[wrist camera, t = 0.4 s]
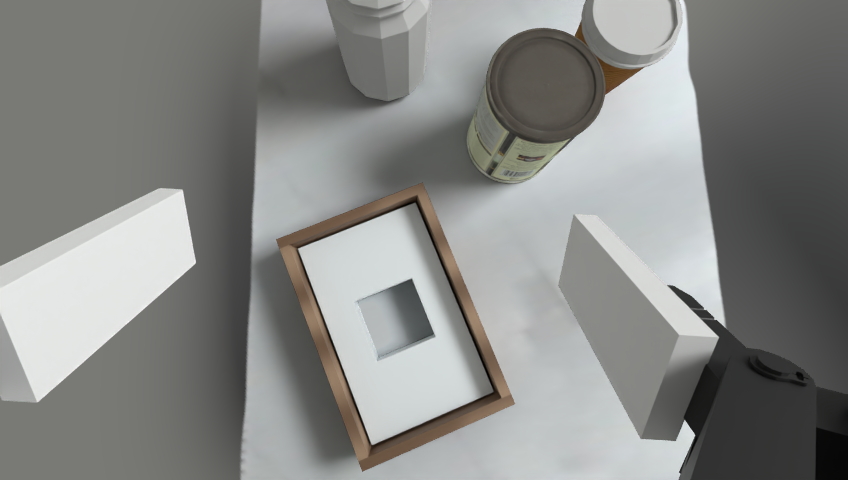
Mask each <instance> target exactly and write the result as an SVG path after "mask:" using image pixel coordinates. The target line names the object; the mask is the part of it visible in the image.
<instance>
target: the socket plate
mask: <svg viewBox="0 0 848 480" xmlns="http://www.w3.org/2000/svg"><path fill="white" fill-rule="evenodd" d="M298 250H299V253H300V255H301V258H302V261H303V263H304V266H305V269H306V271H307V274H308V277H309V279H310V282H311V285H312V287H313V290H314V292H315V295H316V298H317V300H318V303H319V306H320V308H321V311H322V314H323V316H324V319H325V322H326V324H327V327H328V330H329V332H330V335H331V338H332V340H333V343H334V346H335V348H336V351H337V354H338V356H339V359H340V362H341V364H342V367H343V370H344V372H345V375H346V378H347V380H348V383H349V385H350V388H351V391H352V393H353V396H354V399H355V401H356V404H357V407H358V409H359V412H360V415H361V417H362V420H363V423H364V425H365V428H366V431H367V433H368V436H369V439H370V441H371V444H372V445H374V444H376V443H378V442H380V441H383V440H385V439H387V438H390V437H392V436H394V435H396V434H399V433H401V432H403V431H406V430H408V429H410V428H412V427H415V426H417V425H419V424H422V423H424V422H426V421H428V420H431V419H433V418H435V417H438V416H440V415H442V414H444V413H447V412H449V411H451V410H453V409H456V408H458V407H460V406H463V405H465V404H467V403H469V402H472V401H474V400H476V399H479V398H481V397H483V396H485V395H488V394H490V393H492V392H494V391H493V389H492V386H491V384H490V382H489V379H488V377H487V374H486V372H485V370H484V367H483V365H482V362H481V360H480V357H479V355H478V353H477V350H476V348H475V345H474V343H473V340H472V338H471V336H470V333H469V331H468V328H467V326H466V324H465V321H464V319H463V316H462V314H461V311H460V309H459V307H458V304H457V302H456V299H455V297H454V295H453V292H452V290H451V287H450V285H449V282H448V280H447V278H446V275H445V273H444V270H443V268H442V265H441V263H440V261H439V258H438V256H437V253H436V251H435V249H434V246H433V244H432V241H431V239H430V236H429V234H428V232H427V229H426V227H425V224H424V222H423V220H422V217H421V215H420V212H419V210H418V207H417V205H416V203H413V204H410V205H408V206H405V207H403V208H400V209H398V210H395V211H393V212H390V213H388V214H385V215H382V216H380V217H377V218H375V219H372V220H370V221H367V222H365V223H362V224H360V225H357V226H355V227H352V228H349V229H347V230H344V231H342V232H339V233H337V234H334V235H332V236H329V237H327V238H324V239H321V240H319V241H316V242H314V243H311V244H309V245H306V246H304V247H301V248H299V249H298ZM410 279H412V280H413V283H414V285H415V288H416V290H417V293H418V295H419V298H420V300H421V303H422V305H423V308H424V310H425V313H426V315H427V318H428V320H429V323H430V325H431V328H432V330H433V332H434V334H433V335H431V336H428V337H426V338H424V339H421V340H419V341H417V342H414V343H412V344H409V345H407V346H405V347H402V348H400V349H398V350H395V351H393V352H391V353H388V354H386V355H383V356H381V357H378V354H377V352H376V349H375V346H374V344H373V341H372V339H371V336H370V334H369V331H368V328H367V326H366V323H365V321H364V318H363V315H362V313H361V310H360V308H359V305H358V303H357V301H359V300H362V299H364V298H366V297H369V296H371V295H374V294H376V293H379V292H381V291H384V290H386V289H388V288H391V287H393V286H396V285H398V284H401V283H403V282H406V281H408V280H410Z"/></svg>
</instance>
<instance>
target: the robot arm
mask: <svg viewBox="0 0 848 480" xmlns="http://www.w3.org/2000/svg"><path fill="white" fill-rule="evenodd" d="M195 263H196V261H195V256H194V251H193V245H192V239H191V234H190V228H189V223H188V217H187V212H186V206H185V201H184V195H183V190H179V189H164V188H159V189H157V190H155V191H153V192H151V193H149V194H147V195H145V196H143V197H141V198H139V199H137V200H135V201H133V202H131V203H129V204H127V205H125V206H122V207H121V208H118V209H117V210H114V211H112V212H110V213H108V214H106V215H104V216H102V217H100V218H98V219H96V220H94V221H92V222H90V223H88V224H86V225H84V226H82V227H80V228H78V229H76V230H74V231H72V232H69V233H67V234H66V235H63V236H62V237H59V238H57V239H55V240H53V241H51V242H49V243H47V244H45V245H43V246H41V247H39V248H37V249H35V250H33V251H31V252H29V253H27V254H25V255H23V256H21V257H18V258H16V259H14V260H12V261H10V262H8V263H6V264H4V265H2V266H0V397H1V399H2V400H6V401H22V402H39V401H40V400H41V399H42V398H43V397H44V396H45V395H46V394H47V393H49V392H50V391H51V390H52V389H53V388H54V387H55V386H57V385H58V384H59V383H60V382H61V381H62V380H63V379H65V378H66V377H67V376H68V375H69V374H70V373H71V372H73V371H74V370H75V369H76V368H77V367H78V366H79V365H80V364H82V363H83V362H84V361H85V360H86V359H87V358H89V356H91V355H92V354H93V353H94V352H95V351H96V350H97V349H99V348H100V347H101V346H102V345H103V344H104V343H105V342H107V341H108V340H109V339H110V338H111V337H112V336H114V335H115V334H116V333H117V332H118V331H119V330H120V329H121V328H123V327H124V326H125V325H126V324H127V323H128V322H129V321H130V320H132V319H133V318H134V317H135V316H136V315H137V314H139V312H141V311H142V310H143V309H144V308H145V307H146V306H148V305H149V304H150V303H151V302H152V301H153V300H154V299H156V298H157V297H158V296H159V295H160V294H161V293H162V292H164V291H165V290H166V289H167V288H168V287H169V286H170V285H171V284H173V283H174V282H175V281H176V280H177V279H178V278H179V277H181V276H182V275H183V274H184V273H185V272H186V271H187V270H188V269H190V268H191V267H192V266H193V265H194V264H195ZM558 286H559V288H560V289H561V291H562V293H563V295H564V297H565V299H566V301H567V302H568V304H569V306H570V308H571V310H572V312H573V314H574V316H575V317H576V319H577V321H578V323H579V325H580V327H581V329H582V330H583V332H584V334H585V336H586V338H587V340H588V342H589V343H590V345H591V347H592V349H593V351H594V353H595V355H596V356H597V358H598V360H599V362H600V364H601V366H602V368H603V369H604V371H605V373H606V375H607V377H608V379H609V381H610V382H611V384H612V386H613V388H614V390H615V392H616V394H617V396H618V397H619V399H620V401H621V403H622V405H623V407H624V409H625V410H626V412H627V414H628V416H629V418H630V420H631V422H632V423H633V425H634V427H635V429H636V431H637V433H638V435H639V436H640V438H641V439H653V440H670V441H676V439H677V437H678V434H679V432H680V429H681V427H682V425H683V422H684V420H685V421H686V422H687V423H688V425H689V426H690V428H691V429H692V431H693V432H694V434H695V437H694V440H693V442H692V444H691V447H690V449H689V451H688V453H687V456H686V458H685V460H684V462H683V465H682V467H681V469H680V471H679V473H681V474H680V477H679V480H848V394H843V393H839V392H836V391H832V390H828V389H824V388H820V387H816V385H815V382H814V380H813V379H812V378H811V377H810V376H809V375H808V374H807V373H806V372H805V371H804V370H803V369H801V368H800V367H798V366H797V365H795V364H794V363H792V362H791V361H789V360H786V359H784V358H782V357H780V356H777V355H775V354H772V353H769V352H765V351H762V350H758V349H751V348H746V347H745V346H744V345H743V344H742V343H741V342H740V341H738V340H737V339H736V338H735V337H734V336H733V335H732V334H731V333H730V332H729V331H728V330H727V329H726V328H725V327H724V326H723V325H722V324H720V323H719V322H718V321H717V320H714V317H713V316H712V315H711V314H710V313H709V312H708V311H707V310H704V308H703V307H702V306H701V305H700V304H699V303H698V302H697V301H696V300H695V299H694V298H693V297H692V296H690V295H689V294H687V293H685V292H683V291H682V290H680V289H678V288H676V287H675V286H671V285H666V284H665V283H664V282H663V281H662V280H661V279H660V278H659V277H658V276H657V275H656V274H655V273H654V272H653V271H652V270H651V269H650V268H649V267H648V266H647V265H646V264H645V263H644V262H643V261H642V260H641V259H640V258H639V257H638V256H637V255H636V254H635V253H634V252H633V251H632V250H631V249H630V248H629V247H628V246H627V245H626V244H625V243H624V242H623V241H622V240H621V239H620V238H619V237H618V236H617V235H616V234H615V233H614V232H613V231H612V230H611V229H610V228H609V227H608V226H607V225H606V224H605V223H604V222H603V221H602V220H601V219H600V218H599V217H597V216H596V215H581V214H574V215H573V220H572V224H571V229H570V234H569V238H568V243H567V248H566V252H565V257H564V261H563V266H562V271H561V275H560V280H559V285H558Z"/></svg>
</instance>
